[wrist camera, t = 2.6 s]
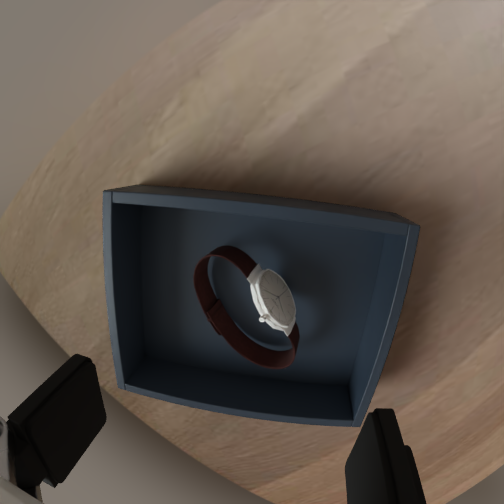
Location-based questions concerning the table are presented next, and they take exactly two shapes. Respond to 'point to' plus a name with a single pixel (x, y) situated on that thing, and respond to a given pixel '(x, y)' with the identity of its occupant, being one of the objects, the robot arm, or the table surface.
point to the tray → (241, 302)
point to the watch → (265, 299)
